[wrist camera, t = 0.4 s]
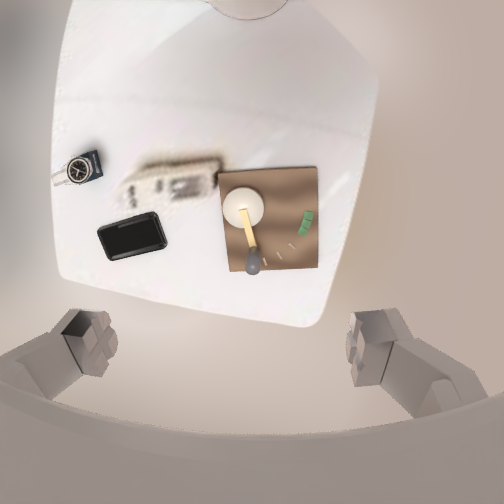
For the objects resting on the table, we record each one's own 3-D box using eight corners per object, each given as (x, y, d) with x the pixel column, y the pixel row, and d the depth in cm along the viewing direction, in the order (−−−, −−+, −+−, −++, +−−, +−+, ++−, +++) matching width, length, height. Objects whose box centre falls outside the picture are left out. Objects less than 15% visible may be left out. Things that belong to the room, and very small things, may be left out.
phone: (167, 247, 58) (109, 261, 60) (169, 245, 59) (111, 259, 61) (154, 211, 55) (95, 229, 57) (156, 209, 56) (97, 227, 58)
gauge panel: (219, 172, 52) (217, 174, 50) (315, 167, 50) (317, 168, 49) (230, 268, 60) (229, 272, 58) (316, 264, 58) (317, 268, 57)
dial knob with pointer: (219, 192, 52) (210, 205, 44) (258, 182, 51) (256, 194, 43) (239, 260, 57) (235, 283, 49) (276, 252, 56) (276, 274, 48)
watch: (111, 172, 53) (80, 186, 43) (81, 183, 54) (49, 198, 44) (104, 146, 50) (72, 155, 41) (74, 158, 52) (41, 169, 42)
